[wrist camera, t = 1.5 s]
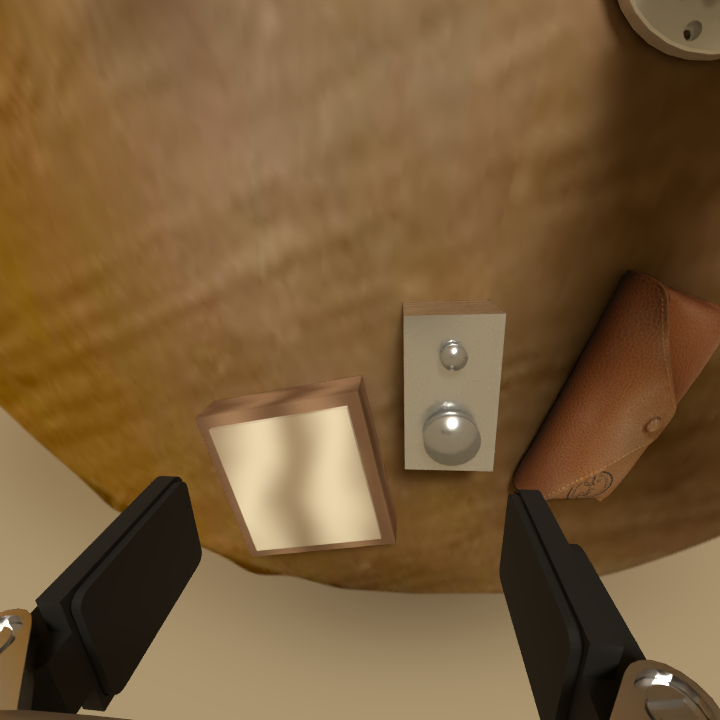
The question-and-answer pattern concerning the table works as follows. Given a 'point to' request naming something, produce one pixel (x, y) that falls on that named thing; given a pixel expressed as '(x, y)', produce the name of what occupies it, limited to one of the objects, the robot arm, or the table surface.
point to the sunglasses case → (621, 389)
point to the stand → (302, 468)
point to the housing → (451, 383)
